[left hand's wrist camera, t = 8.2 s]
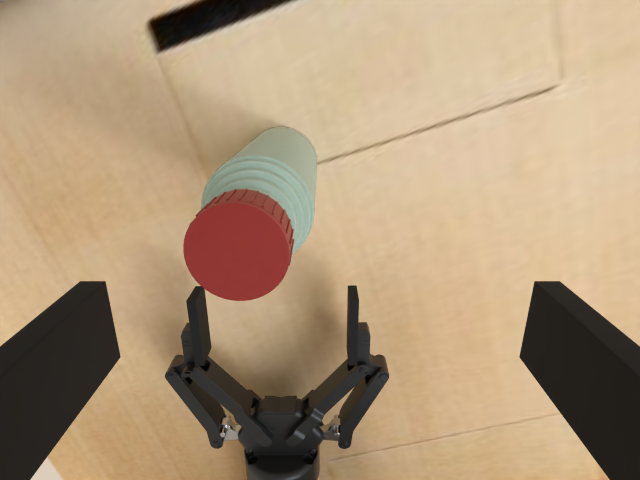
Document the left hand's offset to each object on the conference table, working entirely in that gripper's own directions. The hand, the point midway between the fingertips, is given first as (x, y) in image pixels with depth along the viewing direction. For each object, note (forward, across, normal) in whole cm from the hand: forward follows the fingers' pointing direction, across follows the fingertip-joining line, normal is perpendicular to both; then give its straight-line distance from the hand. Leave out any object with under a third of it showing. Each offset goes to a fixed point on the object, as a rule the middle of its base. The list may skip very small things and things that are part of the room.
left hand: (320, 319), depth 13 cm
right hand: (+21, +4, +10) cm, 23 cm away
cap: (+5, +4, 0) cm, 6 cm away
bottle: (+27, +4, 0) cm, 27 cm away
